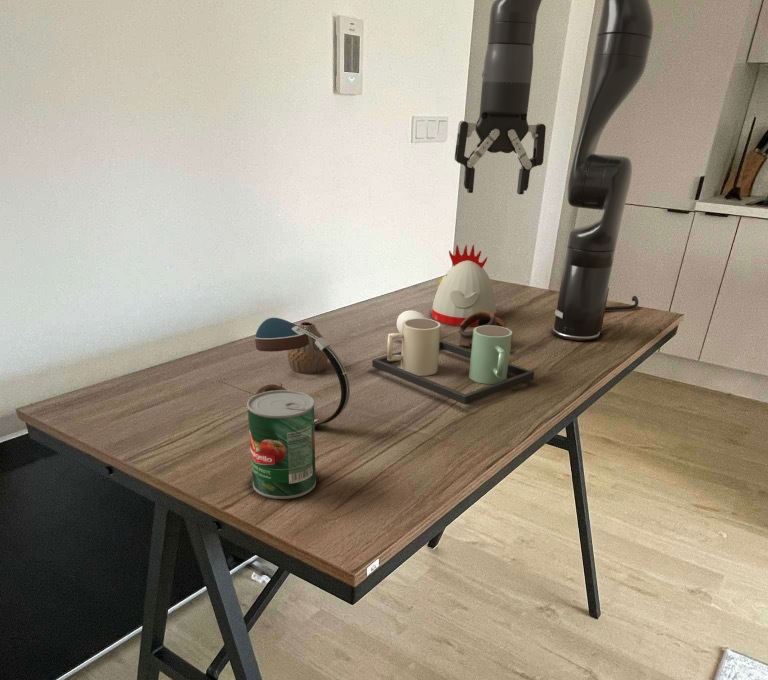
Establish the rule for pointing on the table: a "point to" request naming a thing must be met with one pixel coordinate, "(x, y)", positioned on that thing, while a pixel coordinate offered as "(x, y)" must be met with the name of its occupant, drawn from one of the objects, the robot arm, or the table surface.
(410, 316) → the stress ball
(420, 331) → the cream cup
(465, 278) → the kitchen timer
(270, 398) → the canned tomato
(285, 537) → the table surface
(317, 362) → the vase
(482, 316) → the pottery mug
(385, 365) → the tray
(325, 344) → the headphones
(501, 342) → the green cup
